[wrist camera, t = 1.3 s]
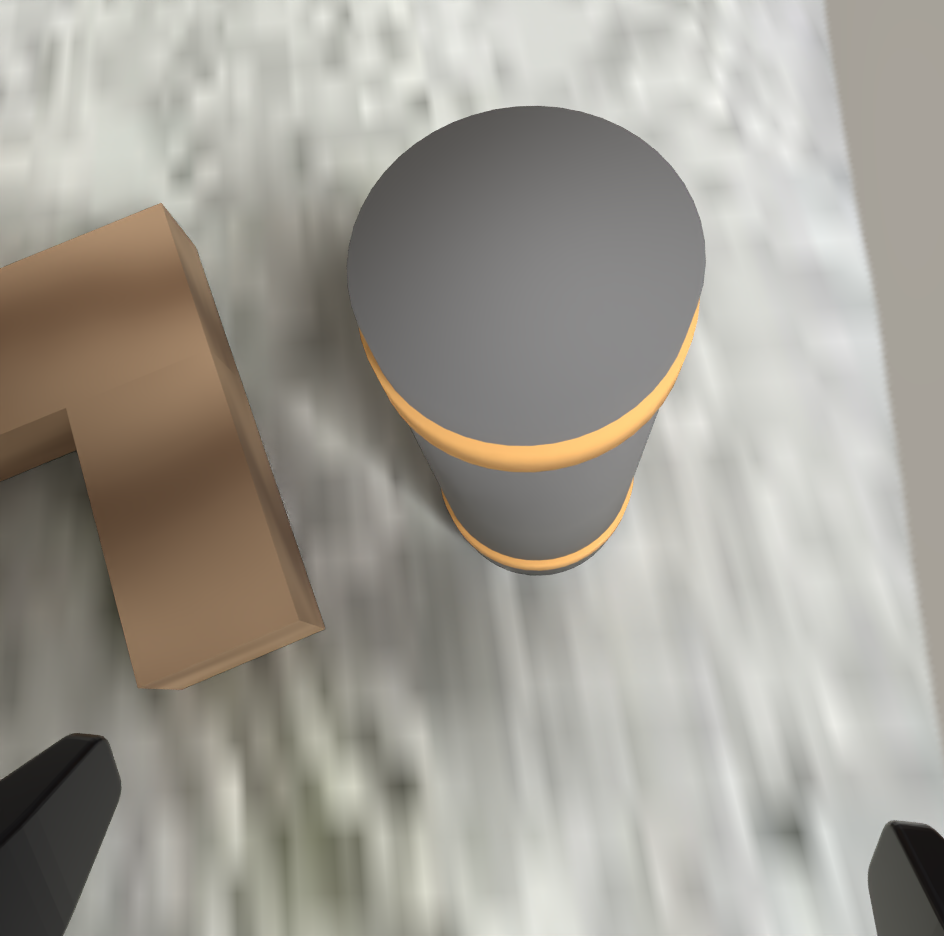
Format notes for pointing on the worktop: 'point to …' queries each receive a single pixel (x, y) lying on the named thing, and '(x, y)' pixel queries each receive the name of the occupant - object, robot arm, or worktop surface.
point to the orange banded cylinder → (529, 319)
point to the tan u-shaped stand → (153, 445)
